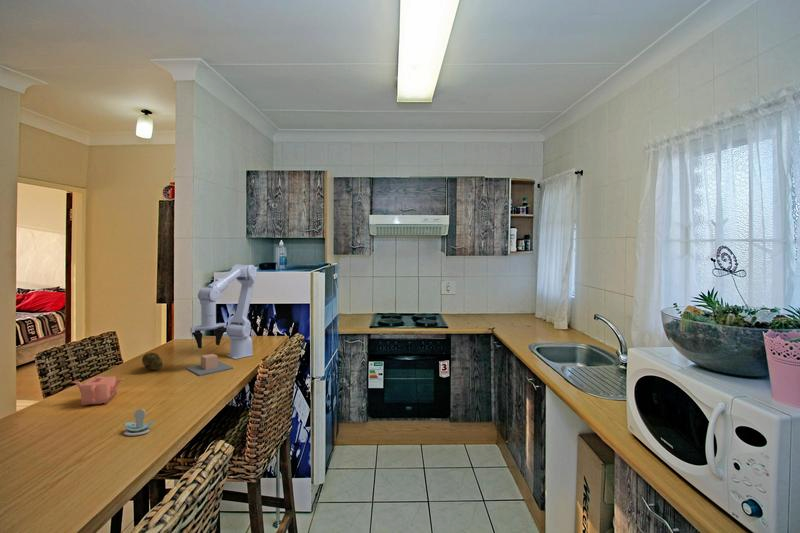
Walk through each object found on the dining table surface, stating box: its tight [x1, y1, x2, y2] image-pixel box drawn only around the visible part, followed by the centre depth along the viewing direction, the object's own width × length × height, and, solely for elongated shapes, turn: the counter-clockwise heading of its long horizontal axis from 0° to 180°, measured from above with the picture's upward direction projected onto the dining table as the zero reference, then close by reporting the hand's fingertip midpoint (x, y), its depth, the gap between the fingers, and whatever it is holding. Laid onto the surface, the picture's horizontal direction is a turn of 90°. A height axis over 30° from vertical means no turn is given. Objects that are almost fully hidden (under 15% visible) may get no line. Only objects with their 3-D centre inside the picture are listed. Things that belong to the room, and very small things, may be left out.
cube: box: [200, 353, 219, 370], centre depth 175 cm, size 5×5×5 cm
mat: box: [185, 360, 234, 377], centre depth 175 cm, size 14×14×1 cm
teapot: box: [72, 375, 126, 406], centre depth 138 cm, size 12×15×8 cm
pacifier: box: [123, 408, 155, 437], centre depth 116 cm, size 7×6×6 cm
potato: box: [141, 352, 163, 370], centre depth 172 cm, size 8×13×8 cm, turn 6°
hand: (208, 346), depth 176 cm, fingers open, 7 cm apart
